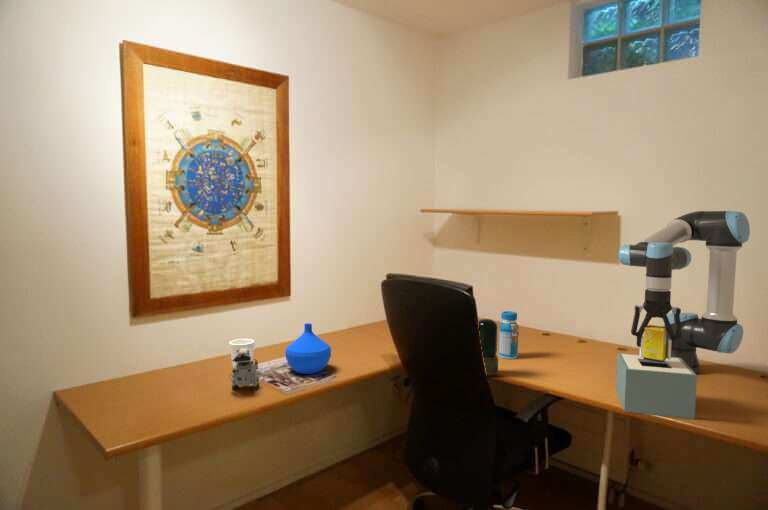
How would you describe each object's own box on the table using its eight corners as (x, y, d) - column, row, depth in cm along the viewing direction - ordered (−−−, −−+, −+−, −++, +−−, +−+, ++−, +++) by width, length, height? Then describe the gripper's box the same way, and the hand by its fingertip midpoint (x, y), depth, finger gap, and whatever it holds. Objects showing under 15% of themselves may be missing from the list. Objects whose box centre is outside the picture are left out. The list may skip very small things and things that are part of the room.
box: (678, 397, 178) (680, 357, 177) (694, 419, 159) (696, 375, 158) (616, 390, 184) (617, 352, 183) (624, 411, 165) (626, 369, 164)
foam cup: (229, 378, 197) (228, 345, 196) (230, 371, 206) (229, 339, 205) (255, 376, 199) (254, 343, 198) (254, 369, 208) (253, 338, 207)
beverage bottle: (498, 358, 224) (499, 313, 223) (498, 353, 232) (499, 310, 231) (518, 360, 222) (519, 314, 221) (517, 354, 230) (518, 311, 229)
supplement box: (646, 355, 174) (648, 324, 173) (666, 358, 171) (668, 326, 170) (642, 359, 170) (644, 327, 169) (662, 363, 166) (664, 329, 165)
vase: (337, 365, 213) (337, 320, 212) (320, 379, 196) (320, 330, 194) (297, 362, 218) (297, 318, 217) (277, 375, 201) (276, 327, 199)
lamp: (502, 373, 204) (503, 319, 202) (490, 379, 197) (491, 322, 195) (481, 368, 210) (482, 315, 209) (469, 373, 203) (469, 319, 201)
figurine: (226, 395, 179) (224, 353, 177) (237, 384, 190) (236, 345, 189) (251, 396, 178) (250, 354, 177) (261, 385, 189) (260, 345, 188)
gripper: (689, 289, 169) (686, 356, 171) (622, 286, 175) (619, 351, 177) (696, 292, 162) (692, 363, 164) (625, 289, 168) (623, 357, 170)
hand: (654, 357), depth 170 cm, fingers closed on supplement box, 7 cm apart
